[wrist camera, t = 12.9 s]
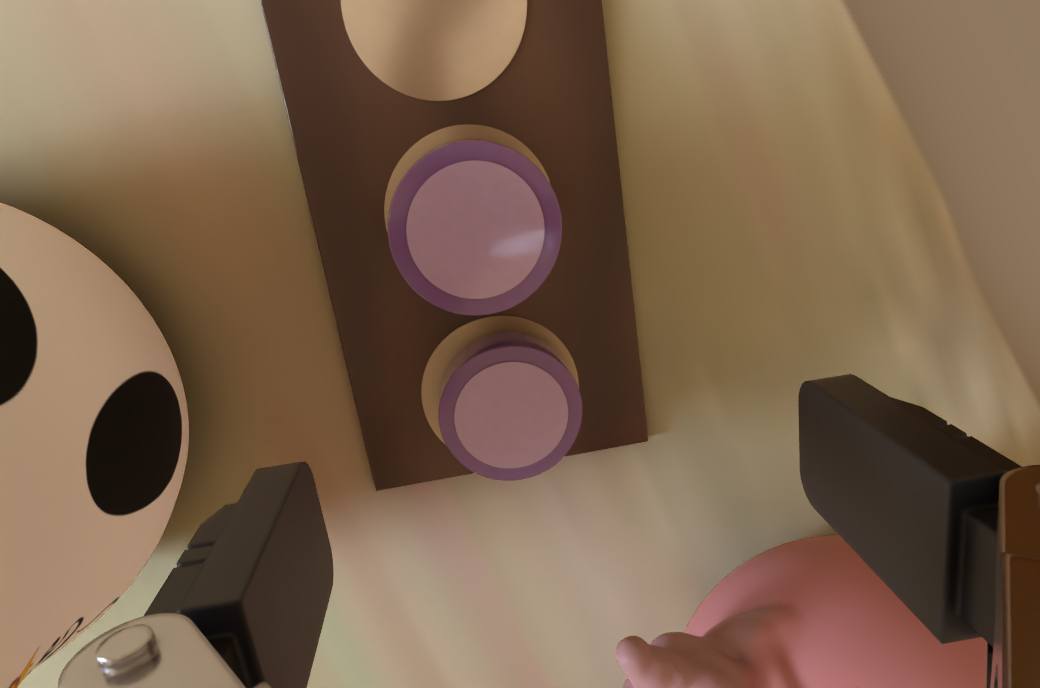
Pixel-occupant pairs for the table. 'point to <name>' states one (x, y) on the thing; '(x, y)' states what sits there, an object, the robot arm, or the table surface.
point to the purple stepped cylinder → (474, 227)
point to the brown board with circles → (403, 141)
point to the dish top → (509, 406)
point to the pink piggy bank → (803, 631)
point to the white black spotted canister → (76, 440)
